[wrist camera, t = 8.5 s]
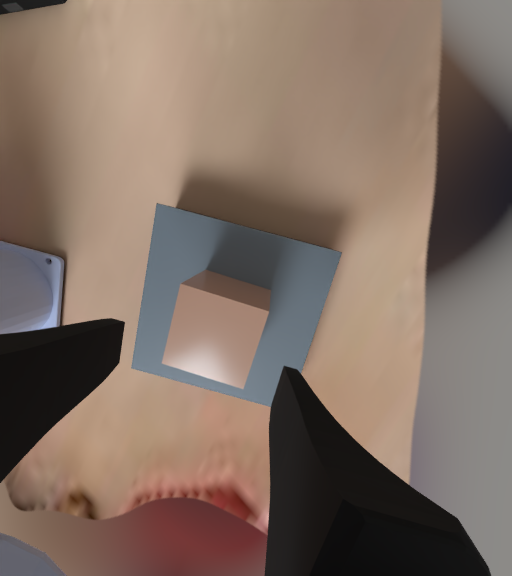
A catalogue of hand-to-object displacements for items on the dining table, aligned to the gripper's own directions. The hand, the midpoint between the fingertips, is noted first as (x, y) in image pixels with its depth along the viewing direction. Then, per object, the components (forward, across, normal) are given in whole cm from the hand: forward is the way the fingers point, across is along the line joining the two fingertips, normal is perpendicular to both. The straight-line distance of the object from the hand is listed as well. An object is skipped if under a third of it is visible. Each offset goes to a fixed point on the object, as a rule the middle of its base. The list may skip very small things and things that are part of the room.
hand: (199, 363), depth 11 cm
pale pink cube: (+6, 0, 0) cm, 6 cm away
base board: (+9, 0, 0) cm, 9 cm away
